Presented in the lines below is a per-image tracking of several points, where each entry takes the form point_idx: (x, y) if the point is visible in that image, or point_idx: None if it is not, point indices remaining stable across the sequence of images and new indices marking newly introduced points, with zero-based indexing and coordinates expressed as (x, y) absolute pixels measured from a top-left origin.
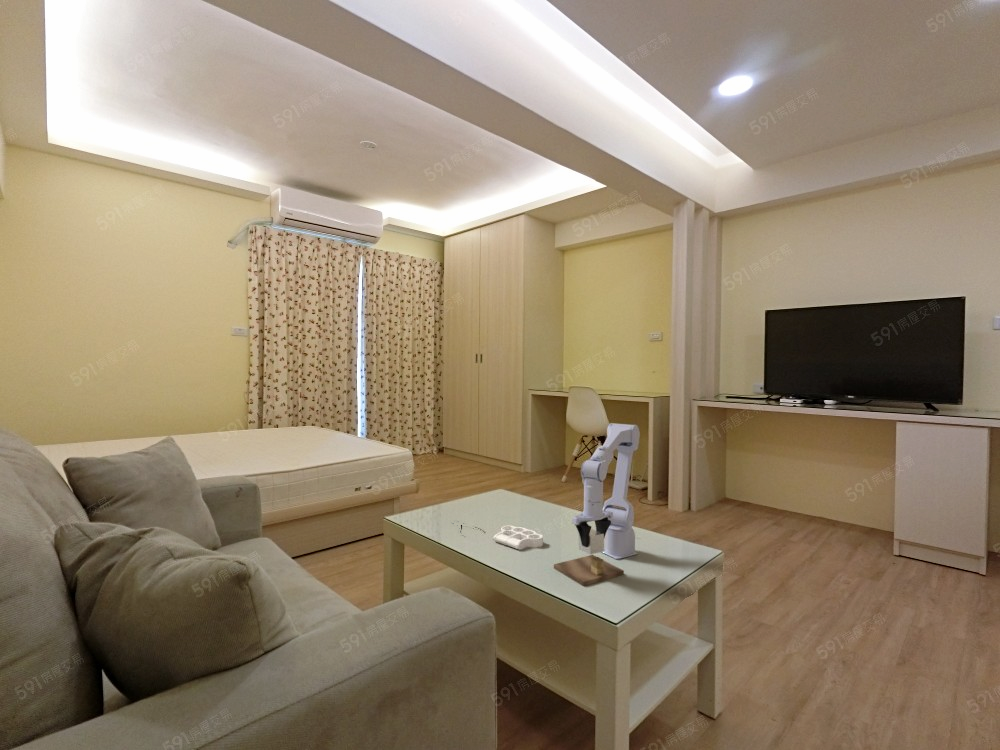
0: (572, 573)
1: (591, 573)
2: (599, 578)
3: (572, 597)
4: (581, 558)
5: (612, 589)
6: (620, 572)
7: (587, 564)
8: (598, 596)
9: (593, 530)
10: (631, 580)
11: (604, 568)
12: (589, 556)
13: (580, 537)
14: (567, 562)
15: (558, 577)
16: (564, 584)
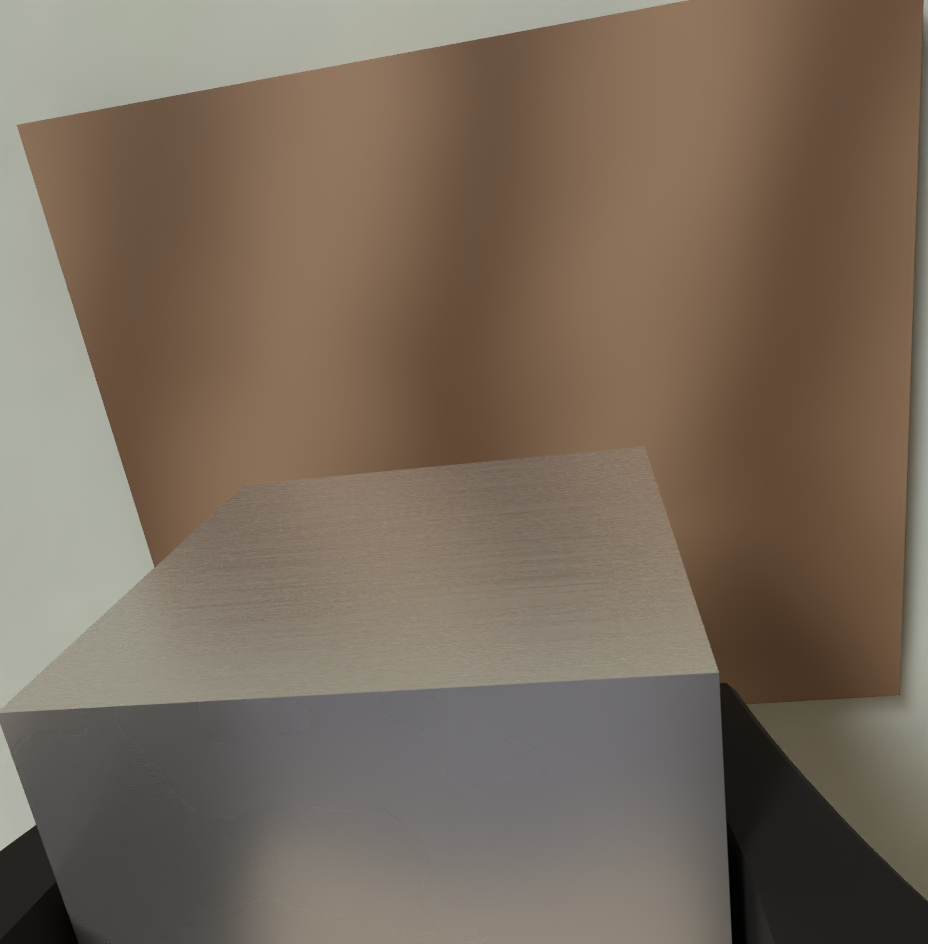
0: (175, 510)
1: None
2: None
3: (28, 826)
4: (593, 59)
5: None
6: (829, 690)
7: (539, 334)
8: None
9: (639, 844)
10: (836, 802)
11: (693, 547)
12: (799, 24)
13: (36, 837)
14: (263, 140)
15: (29, 421)
16: (40, 596)
